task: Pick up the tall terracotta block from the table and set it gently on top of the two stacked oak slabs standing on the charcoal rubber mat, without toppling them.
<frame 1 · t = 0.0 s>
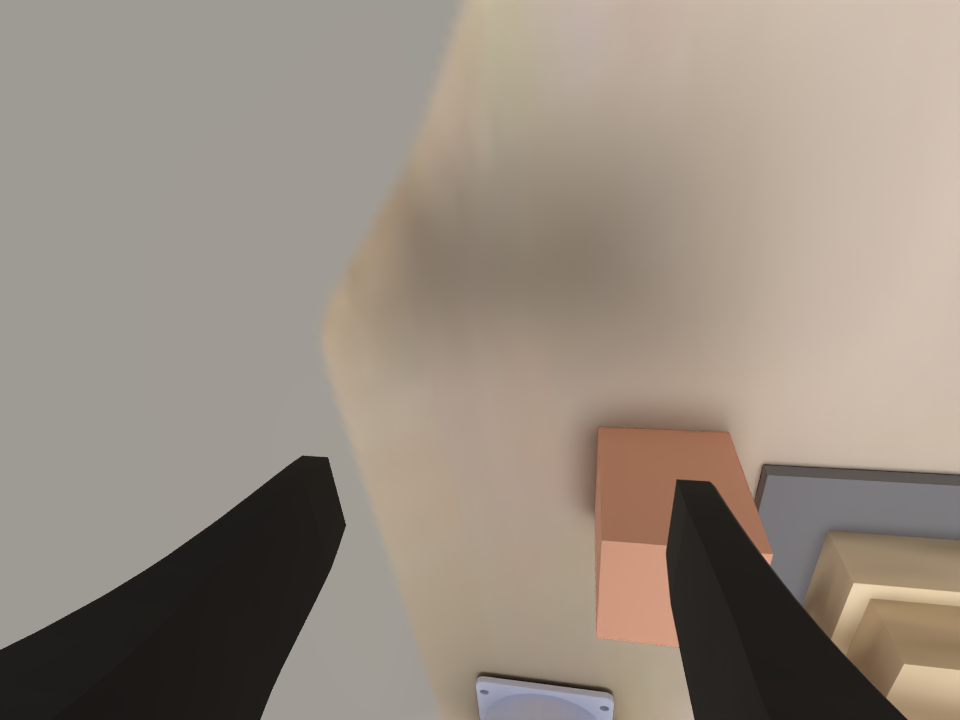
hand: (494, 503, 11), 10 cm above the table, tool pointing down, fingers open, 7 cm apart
mat: (880, 594, 24), on the table
oak slab base: (912, 608, 23), point 1 cm above the table, touching mat, oak slab top
oak slab top: (944, 665, 21), point 3 cm above the table, touching oak slab base
terracotta block: (656, 476, 23), on the table
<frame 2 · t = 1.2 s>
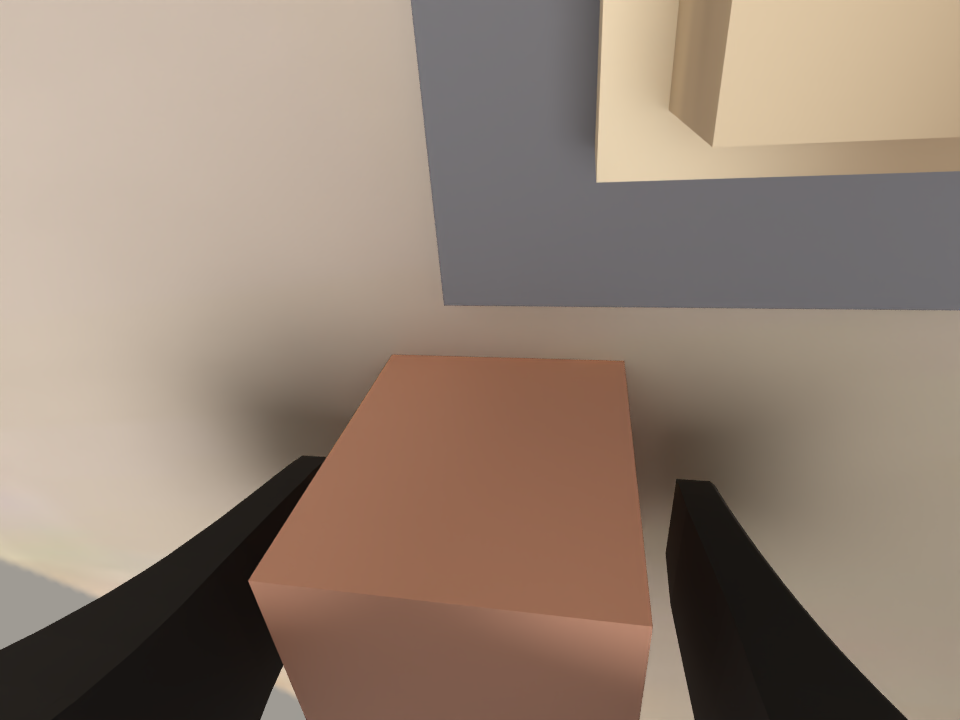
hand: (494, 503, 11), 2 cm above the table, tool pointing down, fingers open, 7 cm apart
terracotta block: (508, 448, 13), on the table
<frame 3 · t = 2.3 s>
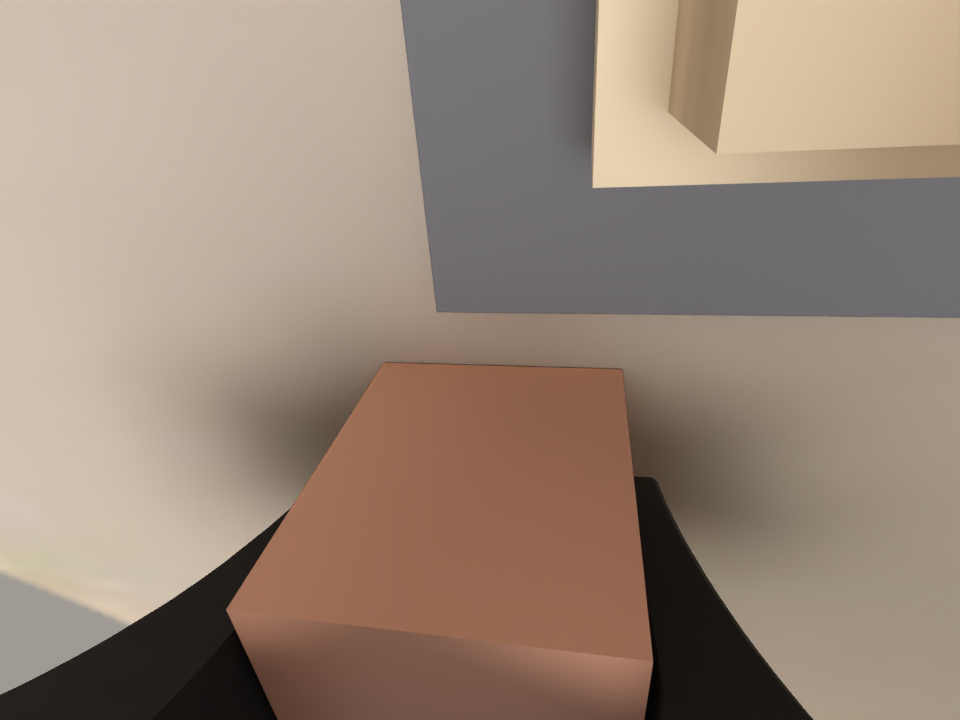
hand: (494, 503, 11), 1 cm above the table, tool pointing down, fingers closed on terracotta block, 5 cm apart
terracotta block: (503, 459, 12), on the table, touching gripper
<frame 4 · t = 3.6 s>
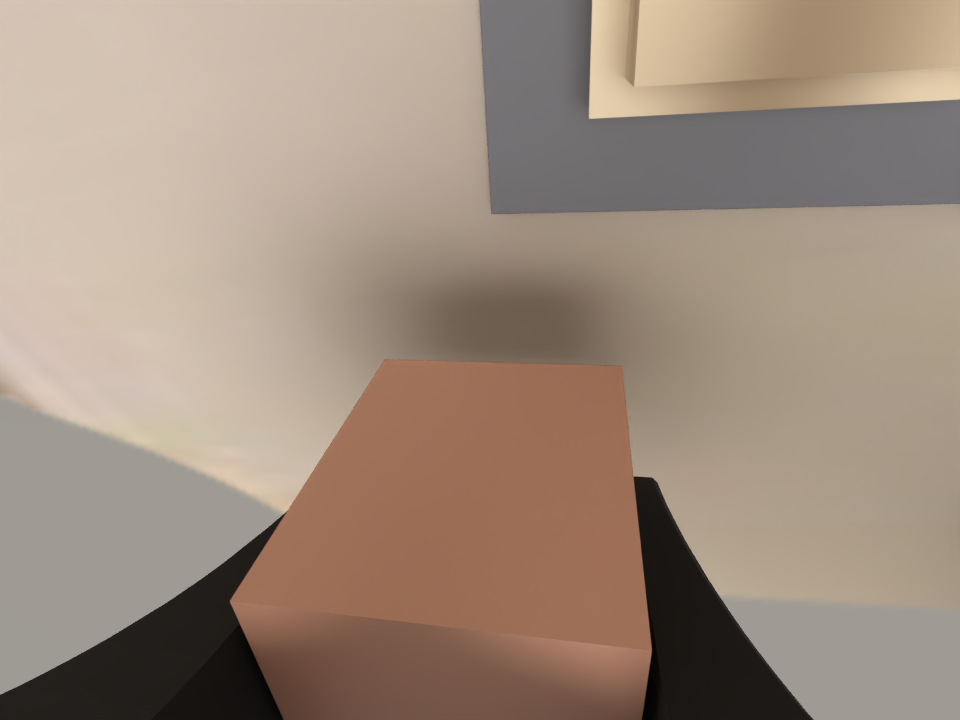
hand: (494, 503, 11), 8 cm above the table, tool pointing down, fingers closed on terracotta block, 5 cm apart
terracotta block: (503, 455, 13), point 7 cm above the table, touching gripper
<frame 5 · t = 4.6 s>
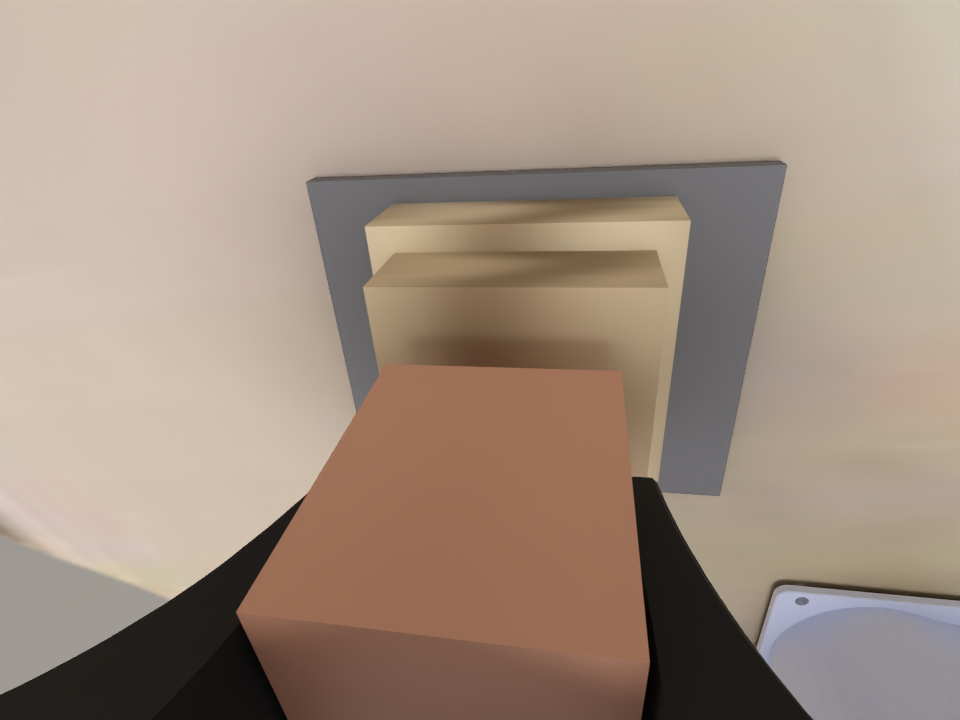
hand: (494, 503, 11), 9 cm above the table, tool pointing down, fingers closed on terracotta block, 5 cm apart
mat: (533, 345, 19), on the table
oak slab base: (530, 327, 18), point 1 cm above the table, touching mat, oak slab top
oak slab top: (523, 364, 16), point 3 cm above the table, touching oak slab base
terracotta block: (504, 458, 13), point 7 cm above the table, touching gripper
when the fingers open (8 cm above the table, at t = 5.2 s): terracotta block drops 1 cm, resting on oak slab top.
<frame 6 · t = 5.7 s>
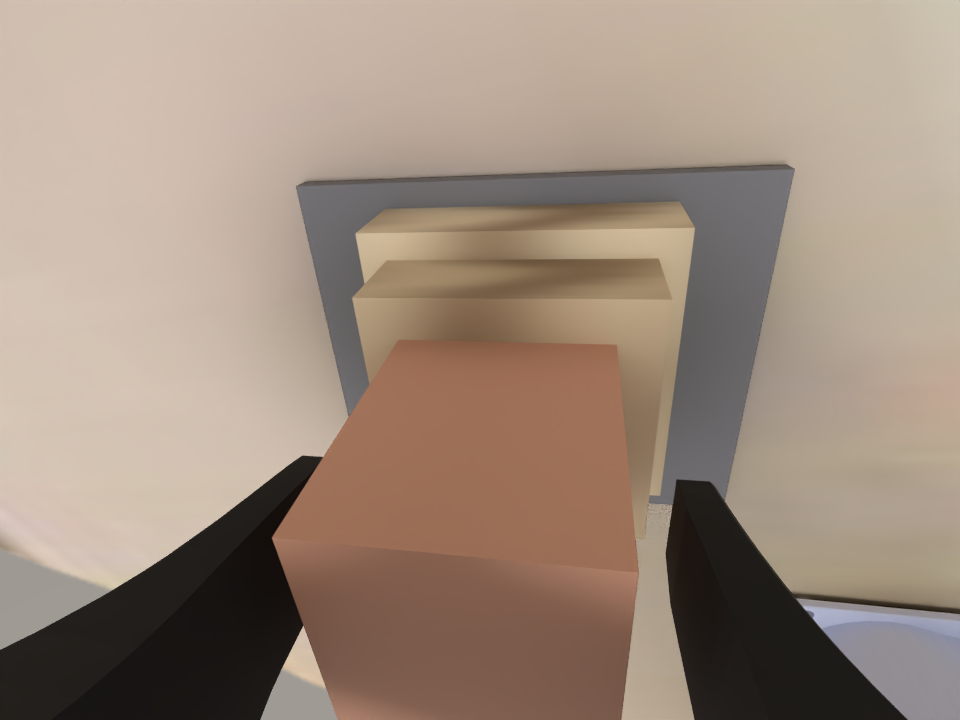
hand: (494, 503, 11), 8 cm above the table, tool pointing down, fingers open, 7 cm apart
mat: (530, 353, 19), on the table
oak slab base: (528, 335, 18), point 1 cm above the table, touching mat, oak slab top
oak slab top: (520, 375, 16), point 3 cm above the table, touching oak slab base, terracotta block
terracotta block: (507, 430, 14), point 6 cm above the table, touching oak slab top
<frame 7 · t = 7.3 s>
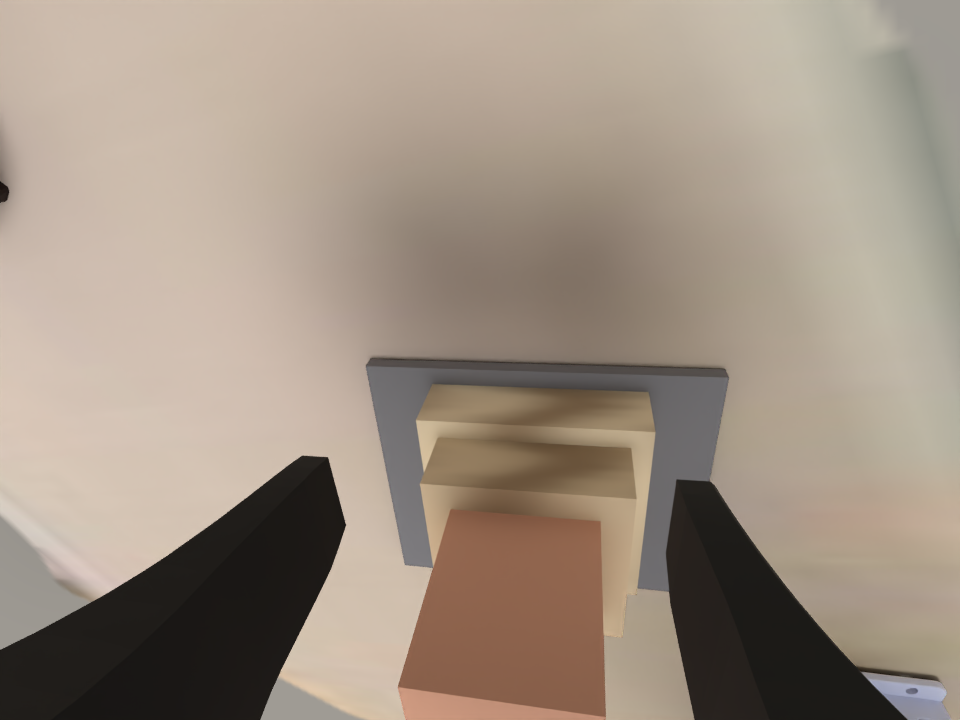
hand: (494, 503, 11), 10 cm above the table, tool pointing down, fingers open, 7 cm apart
mat: (539, 478, 24), on the table
oak slab base: (538, 470, 23), point 1 cm above the table, touching mat, oak slab top
oak slab top: (533, 513, 21), point 3 cm above the table, touching oak slab base, terracotta block
terracotta block: (525, 566, 19), point 6 cm above the table, touching oak slab top
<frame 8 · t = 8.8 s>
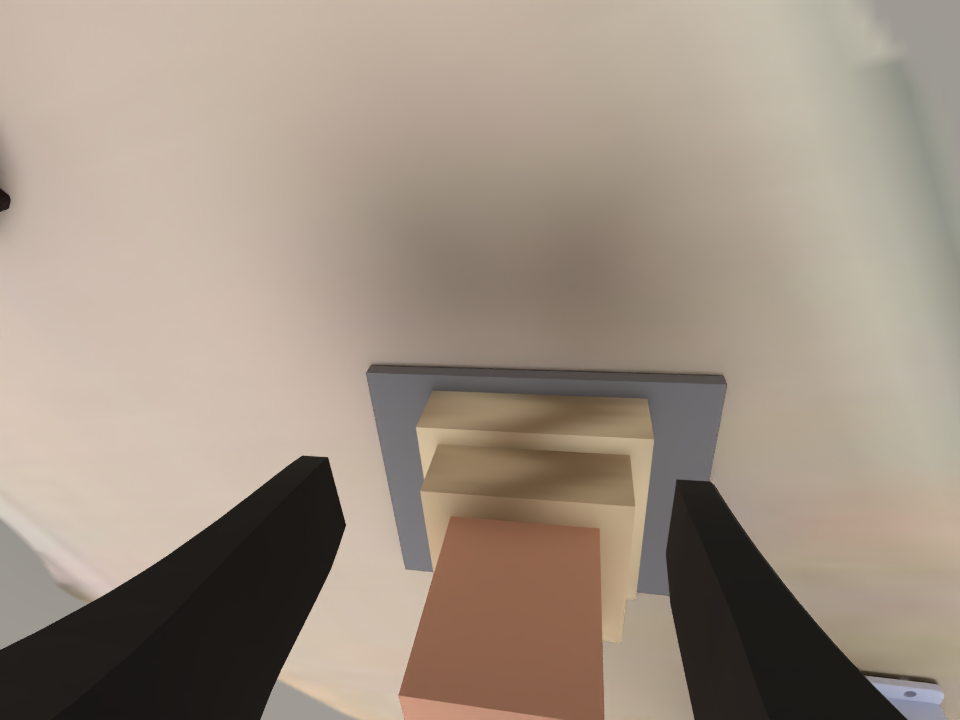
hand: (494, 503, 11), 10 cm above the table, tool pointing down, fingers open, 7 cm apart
mat: (538, 483, 25), on the table
oak slab base: (537, 476, 24), point 1 cm above the table, touching mat, oak slab top
oak slab top: (532, 518, 21), point 3 cm above the table, touching oak slab base, terracotta block
terracotta block: (525, 572, 19), point 6 cm above the table, touching oak slab top
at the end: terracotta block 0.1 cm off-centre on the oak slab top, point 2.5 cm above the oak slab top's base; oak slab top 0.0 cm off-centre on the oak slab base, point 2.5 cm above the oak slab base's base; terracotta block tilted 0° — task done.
